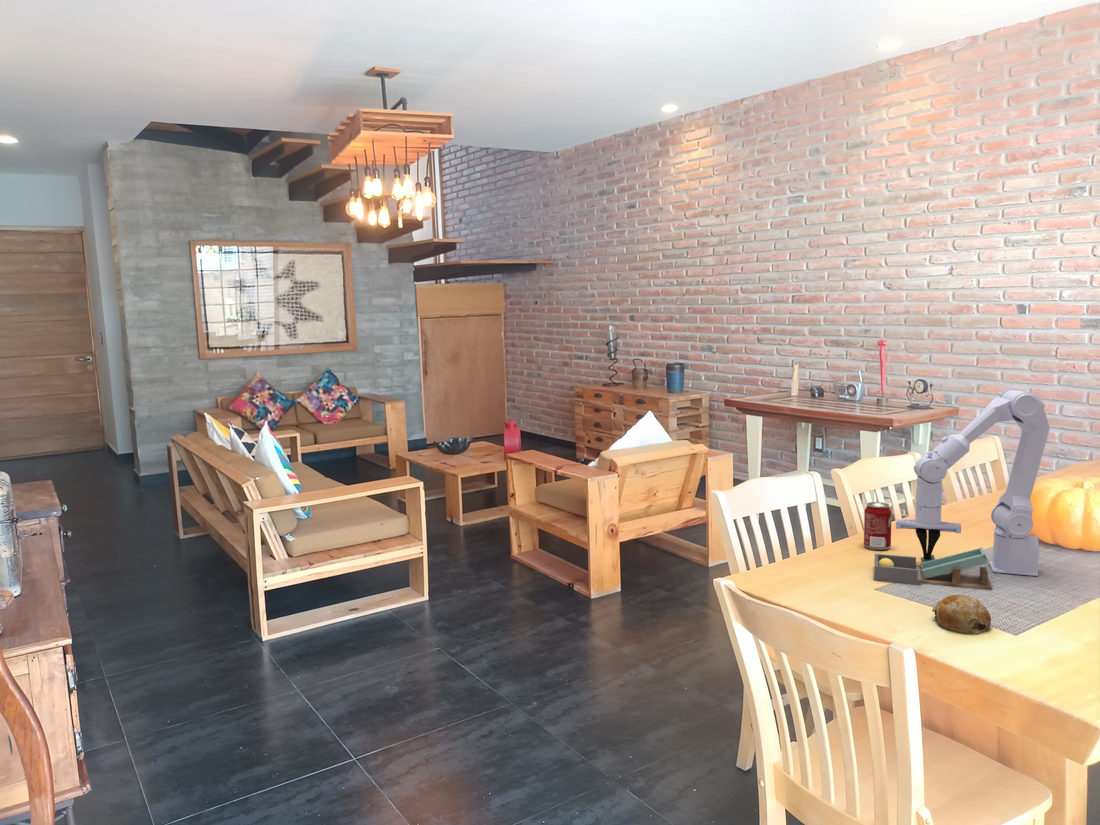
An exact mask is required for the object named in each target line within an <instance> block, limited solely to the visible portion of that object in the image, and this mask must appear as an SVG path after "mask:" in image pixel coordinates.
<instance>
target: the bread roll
mask: <svg viewBox="0 0 1100 825" xmlns="http://www.w3.org/2000/svg"><path fill="white" fill-rule="evenodd" d="M931 611H932V613H934V620H935V622H936V623H937V624H938V625H939V626H940V627H942V628H944V629H945V630H946V629H947V630H950V631H953V632H955V633H957V632H958V633H962V634H971V635H972V634H973V635H977V634H980V633H983V632H985V631H987V630H989V629H990V627H991V623H992V622H991V621H992V618H991V617H992V616H991V614H990V611H989V610H988V609H987V607H986V606H985V605H983V604H982V602H980V600H979V599H978V598H975V597H974V598H973V597H971V596H969V595H965V594H952V595H947V596H946V597H944V598H942V599H941V600H939V601H936V605H935V606H933V607H932V609H931ZM986 629H987V630H986Z"/></svg>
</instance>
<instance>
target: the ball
mask: <svg viewBox="0 0 1100 825" xmlns="http://www.w3.org/2000/svg"><path fill="white" fill-rule="evenodd" d="M878 566H887V567H894V563H893V562H892V561H891V560H890V559H888V558H883V559H881V560H880V561H879V562H878Z"/></svg>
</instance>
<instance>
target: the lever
mask: <svg viewBox="0 0 1100 825" xmlns="http://www.w3.org/2000/svg"><path fill="white" fill-rule="evenodd" d="M920 560H921V562H920V565H921V568H922V569H921V571H922V573H923V575H924V578H925V579H926V578H930V577H934V576H938V575H942V574H946V573H950V572H953V568H960V569H961V571H962V570H965V569H970V568H975V567H978V566H982V565H985V564H989V561H988V559H987V555H986V554H985V551H984V548H983V547H978V548H975V549H971V550H967V551H963V552H959V553H955V554H951V555H948V556H944V557H941V558H940V557H939V558H935V555H934V554H931V559H930V560H926V559H924V558H923V556H922V557H920Z"/></svg>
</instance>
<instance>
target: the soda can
mask: <svg viewBox="0 0 1100 825" xmlns="http://www.w3.org/2000/svg"><path fill="white" fill-rule="evenodd" d="M866 504H867V505H866V507H865V508H864V511H863V513H864V514H863V516H864V520H863V522H864V523H863V532H864V533H863V546H865V547H867V548H868V549H869V550H873V551H887V549H889V548H891V546H892V516H893V514H892V510H891V508H890V504H889V503H887V502H880V501H879V502H878V501H870V502H867V503H866Z"/></svg>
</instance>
